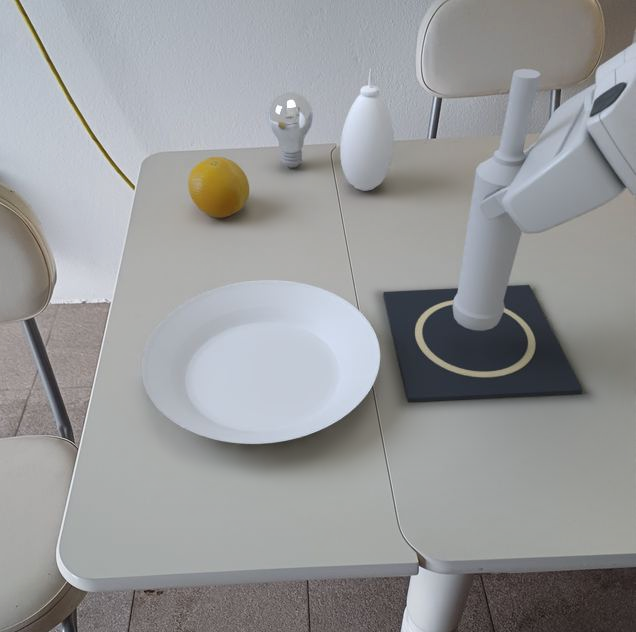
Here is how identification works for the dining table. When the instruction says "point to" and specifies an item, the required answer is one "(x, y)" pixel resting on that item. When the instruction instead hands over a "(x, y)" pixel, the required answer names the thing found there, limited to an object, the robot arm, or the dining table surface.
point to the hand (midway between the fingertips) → (495, 193)
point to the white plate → (260, 361)
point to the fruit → (218, 187)
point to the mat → (476, 349)
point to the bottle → (501, 232)
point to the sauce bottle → (367, 140)
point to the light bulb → (290, 125)
